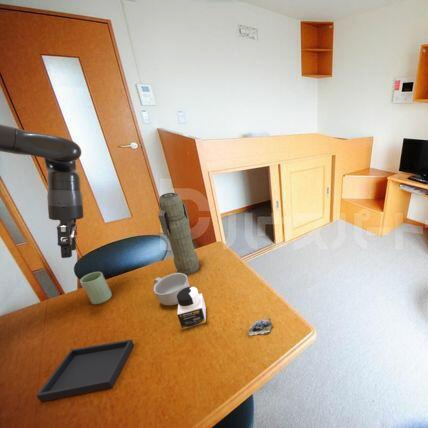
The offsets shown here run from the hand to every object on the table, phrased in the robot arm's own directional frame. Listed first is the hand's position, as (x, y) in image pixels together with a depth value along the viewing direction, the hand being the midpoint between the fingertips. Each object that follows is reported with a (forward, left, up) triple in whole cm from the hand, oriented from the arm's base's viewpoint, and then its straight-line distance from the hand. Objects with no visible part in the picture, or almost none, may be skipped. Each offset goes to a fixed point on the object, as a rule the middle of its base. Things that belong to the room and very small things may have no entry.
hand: (69, 253), depth 76 cm
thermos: (+27, +15, -23) cm, 39 cm away
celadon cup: (0, +3, -22) cm, 23 cm away
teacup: (+26, -2, -23) cm, 35 cm away
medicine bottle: (+36, -14, -23) cm, 45 cm away
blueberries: (+58, -23, -23) cm, 66 cm away
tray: (+13, -27, -22) cm, 37 cm away
